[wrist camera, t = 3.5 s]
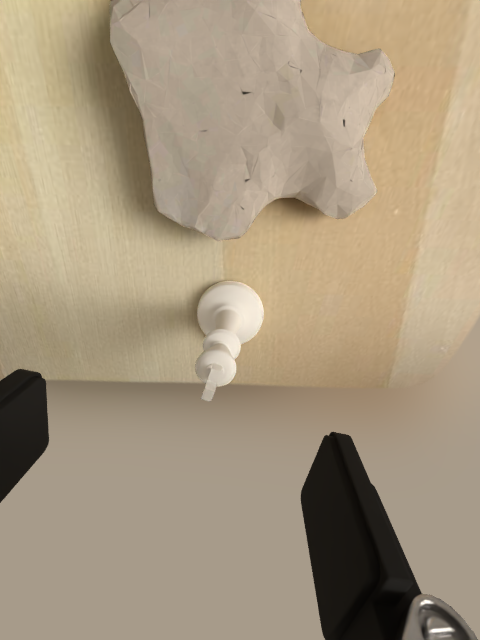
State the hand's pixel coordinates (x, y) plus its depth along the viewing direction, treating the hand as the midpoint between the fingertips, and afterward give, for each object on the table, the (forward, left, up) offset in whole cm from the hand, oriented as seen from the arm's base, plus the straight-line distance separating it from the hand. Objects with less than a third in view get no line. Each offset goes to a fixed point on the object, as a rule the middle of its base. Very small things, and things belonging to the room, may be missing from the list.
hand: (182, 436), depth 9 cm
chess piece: (0, 0, -13) cm, 13 cm away
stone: (+1, -12, -13) cm, 18 cm away
